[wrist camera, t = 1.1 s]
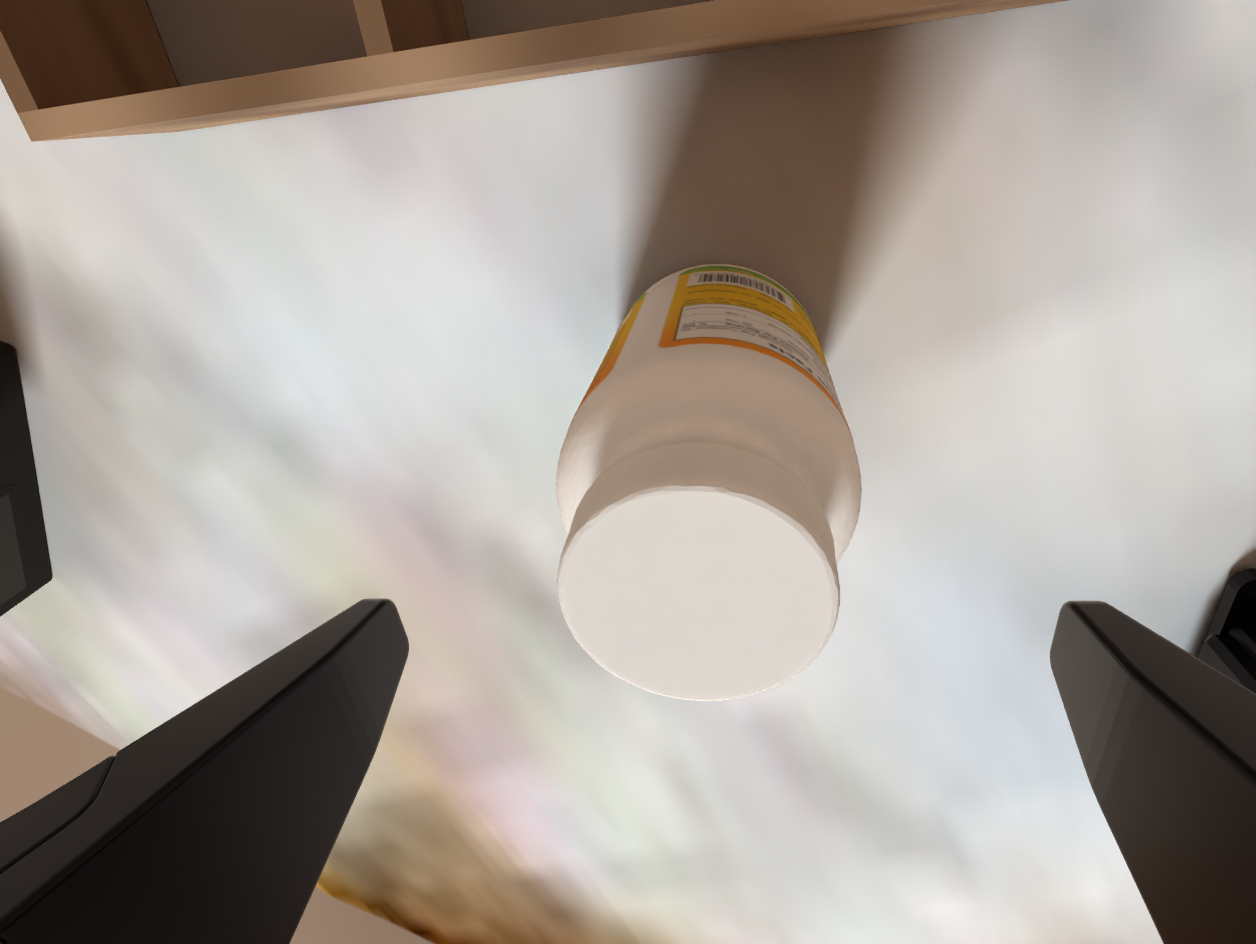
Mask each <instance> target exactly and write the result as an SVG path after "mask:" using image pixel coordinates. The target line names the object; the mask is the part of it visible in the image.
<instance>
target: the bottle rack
mask: <svg viewBox="0 0 1256 944" xmlns="http://www.w3.org/2000/svg"><path fill="white" fill-rule="evenodd" d="M1060 1H1067V0H713V1H707V2H701V3H695V4H689V5H683V6H676V7H670V8H664V9H658V10H652V11H645V12H639V13H633V14H627V15H621V16H615V17H608V18H602V19H596V20H590V21H584V22H577V23H571V24H565V25H559V26H553V27H547V28H540V29H534V30H528V31H522V32H516V33H509V34H503V35H497V36H491V37H485V38H479V39H472V40H469V39H468V34H467V29H466V24H465V19H464V14H463V8H462V3H461V0H353V4H354V8H355V12H356V16H357V19H358V23H359V27H360V31H361V35H362V38H363V42H364V46H365V50H366V54H367V57H361V58H355V59H349V60H343V61H336V62H330V63H324V64H318V65H312V66H305V67H299V68H293V69H287V70H281V71H275V72H268V73H262V74H256V75H250V76H244V77H237V78H231V79H225V80H219V81H213V82H207V83H200V84H194V85H188V86H182V87H179V86H178V83H177V81H176V78H175V76H174V73H173V70H172V68H171V65H170V63H169V60H168V57H167V55H166V52H165V50H164V47H163V45H162V42H161V39H160V37H159V34H158V32H157V29H156V26H155V24H154V21H153V19H152V16H151V13H150V11H149V8H148V6H147V3H146V0H0V79H1V81H2V83H3V85H4V87H5V89H6V91H7V93H8V95H9V97H10V99H11V101H12V103H13V105H14V107H15V109H16V111H17V113H18V115H19V117H20V119H21V121H22V123H23V125H24V127H25V129H26V131H27V133H28V135H29V137H30V139H31V141H46V140H61V139H76V138H91V137H105V136H120V135H135V134H150V133H165V132H179V131H185V130H192V129H199V128H206V127H212V126H219V125H226V124H233V123H240V122H246V121H253V120H260V119H267V118H274V117H280V116H287V115H294V114H301V113H307V112H314V111H321V110H328V109H335V108H341V107H348V106H355V105H362V104H368V103H375V102H382V101H389V100H396V99H402V98H409V97H416V96H423V95H429V94H436V93H443V92H450V91H457V90H463V89H470V88H477V87H484V86H490V85H497V84H504V83H511V82H518V81H524V80H531V79H538V78H545V77H551V76H558V75H565V74H572V73H579V72H585V71H592V70H599V69H606V68H612V67H619V66H626V65H633V64H640V63H646V62H653V61H660V60H667V59H674V58H680V57H687V56H694V55H701V54H707V53H714V52H721V51H728V50H735V49H741V48H748V47H755V46H762V45H768V44H775V43H782V42H789V41H796V40H802V39H809V38H816V37H823V36H829V35H836V34H843V33H850V32H857V31H863V30H870V29H877V28H884V27H890V26H897V25H904V24H911V23H918V22H924V21H931V20H938V19H945V18H951V17H958V16H965V15H972V14H979V13H985V12H992V11H999V10H1006V9H1012V8H1019V7H1026V6H1033V5H1040V4H1046V3H1053V2H1060Z"/></svg>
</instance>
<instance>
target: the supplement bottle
mask: <svg viewBox="0 0 1256 944" xmlns="http://www.w3.org/2000/svg"><path fill="white" fill-rule="evenodd" d="M556 487H557V501H558V506H559V510H560V515H561V518H562V521H563V524H564V527H565V530H566V532H567V535H568V537H567V540H566V543H565V546H564V549H563V552H562V555H561V559H560V564H559V569H558V578H557V585H558V595H559V601H560V606H561V609H562V613H563V616H564V618H565V620H566V623H567V625H568V627H569V628H570V630H571V632H572V634H573V635H574V637H575V639H576V640H577V642H578V643H579V644H580V645H581V647H582V648H583V649H584V650H585V651H586V652H587V653H588V654H589V655H590V656H591V657H592V658H593V659H594V660H595V661H596V662H597V663H598V664H599V665H600V666H602V667H603V668H605V669H606V670H607V671H609V672H610V673H612V674H613V675H615V676H616V677H618V678H620V679H622V680H624V681H626V682H628V683H630V684H632V685H634V686H636V687H638V688H641V689H644V690H646V691H649V692H652V693H655V694H659V695H662V696H666V697H671V698H676V699H685V700H694V701H721V700H732V699H738V698H743V697H748V696H752V695H755V694H758V693H760V692H763V691H766V690H769V689H772V688H774V687H776V686H778V685H781V684H783V683H784V682H786V681H787V680H789V679H790V678H792V677H793V676H795V675H797V674H798V673H800V672H801V671H802V670H803V669H805V668H806V667H807V666H808V665H809V664H810V663H811V662H812V661H813V660H814V659H815V658H816V657H817V656H818V655H819V653H820V652H821V651H822V649H823V648H824V646H825V645H826V643H827V641H828V639H829V637H830V636H831V634H832V632H833V630H834V627H835V624H836V621H837V617H838V611H839V606H840V585H839V578H838V571H837V565H836V563H837V562H838V561H839V559H840V558H841V556H842V555H843V553H844V551H845V550H846V548H847V546H848V544H849V542H850V540H851V538H852V535H853V533H854V530H855V527H856V524H857V521H858V516H859V512H860V503H861V491H862V489H861V474H860V468H859V463H858V458H857V454H856V451H855V446H854V442H853V438H852V435H851V432H850V429H849V427H848V424H847V421H846V419H845V417H844V414H843V411H842V408H841V406H840V403H839V400H838V397H837V394H836V391H835V388H834V385H833V382H832V379H831V376H830V373H829V370H828V367H827V364H826V361H825V358H824V355H823V352H822V348H821V345H820V342H819V339H818V337H817V334H816V331H815V329H814V326H813V324H812V322H811V320H810V318H809V316H808V314H807V312H806V311H805V309H804V308H803V306H802V305H801V304H800V302H799V301H798V300H797V299H796V298H795V297H794V296H793V295H792V294H791V293H790V292H789V291H788V290H787V289H786V288H785V287H783V286H782V285H781V284H779V283H778V282H777V281H775V280H773V279H772V278H770V277H768V276H766V275H764V274H762V273H760V272H758V271H755V270H752V269H749V268H746V267H742V266H738V265H731V264H704V265H698V266H693V267H689V268H686V269H683V270H680V271H677V272H675V273H673V274H670V275H668V276H666V277H665V278H663V279H661V280H660V281H658V282H657V283H655V284H654V285H652V286H651V287H650V288H649V289H648V290H647V291H645V292H644V293H643V294H642V295H641V296H640V297H639V299H638V300H637V301H636V302H635V303H634V305H633V306H632V307H631V309H630V310H629V312H628V313H627V315H626V316H625V318H624V320H623V321H622V323H621V325H620V327H619V329H618V331H617V333H616V335H615V337H614V339H613V341H612V343H611V345H610V347H609V349H608V351H607V354H606V356H605V357H604V360H603V361H602V363H601V365H600V367H599V369H598V371H597V373H596V375H595V377H594V379H593V381H592V383H591V385H590V387H589V389H588V391H587V393H586V394H585V396H584V398H583V400H582V402H581V404H580V406H579V408H578V410H577V412H576V413H575V415H574V417H573V420H572V422H571V424H570V427H569V429H568V432H567V435H566V438H565V440H564V443H563V446H562V449H561V452H560V457H559V462H558V468H557V482H556Z"/></svg>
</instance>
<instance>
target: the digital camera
mask: <svg viewBox="0 0 1256 944" xmlns="http://www.w3.org/2000/svg"><path fill="white" fill-rule="evenodd" d="M51 579H52V577H51V570H50V562H49V555H48V549H47V543H46V536H45V530H44V524H43V517H42V511H41V505H40V498H39V492H38V485H37V479H36V473H35V466H34V460H33V454H32V447H31V441H30V435H29V429H28V423H27V418H26V412H25V406H24V400H23V394H22V389H21V383H20V377H19V371H18V365H17V359H16V354H15V349H14V348H13V347H12V346H11V345H9V344H7V343H4V342H2V341H0V616H2V615H3V614H5V613H6V612H7V611H9V610H10V609H11V608H13V607H14V606H16V605H17V604H18V603H20V602H21V601H23V600H24V599H25V598H27V597H28V596H30V595H31V594H32V593H34V592H35V591H37V590H38V589H39V588H41V587H42V586H44V585H45V584H46V583H48V582H49V581H51Z"/></svg>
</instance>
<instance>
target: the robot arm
mask: <svg viewBox="0 0 1256 944" xmlns="http://www.w3.org/2000/svg"><path fill="white" fill-rule="evenodd" d="M1254 586H1256V569H1248V570H1244V571H1241V572H1239V573H1237V574H1236V575H1234V576H1233V577H1232V578H1231V579H1230V580H1229V582H1228V583H1227V586H1226V588H1225V591H1224V593H1223V596H1222V598H1221V601H1220V603H1219V606H1218V608H1217V611H1216V613H1215V616H1214V618H1213V621H1212V623H1211V626H1210V628H1209V631H1208V633H1207V636H1206V638H1205V641H1204V643H1203V645H1202V648H1201V650H1200V653H1199V655H1198V658H1196V657H1194V656H1193V655H1191V654H1190V653H1188V652H1186V651H1185V650H1183V649H1181V648H1180V647H1178V646H1176V645H1175V644H1173V643H1172V642H1170V641H1168V640H1167V639H1165V638H1163V637H1162V636H1160V635H1158V634H1157V633H1155V632H1153V631H1152V630H1150V629H1149V628H1147V627H1145V626H1144V625H1142V624H1140V623H1139V622H1137V621H1135V620H1134V619H1132V618H1131V617H1129V616H1127V615H1126V614H1124V613H1122V612H1121V611H1119V610H1117V609H1116V608H1114V607H1113V606H1111V605H1109V604H1107V603H1105V602H1102V601H1069V602H1066V603H1065V604H1064V605H1063V606H1062V608H1061V610H1060V613H1059V617H1058V621H1057V625H1056V629H1055V633H1054V637H1053V641H1052V645H1051V650H1050V663H1051V668H1052V671H1053V675H1054V678H1055V681H1056V684H1057V687H1058V690H1059V693H1060V696H1061V699H1062V702H1063V705H1064V708H1065V711H1066V714H1067V717H1068V720H1069V723H1070V726H1071V729H1072V732H1073V735H1074V738H1075V741H1076V744H1077V747H1078V750H1079V753H1080V756H1081V759H1082V762H1083V765H1084V768H1085V770H1086V773H1087V776H1088V779H1089V781H1090V784H1091V787H1092V789H1093V791H1094V794H1095V796H1096V798H1097V801H1098V803H1099V805H1100V808H1101V810H1102V812H1103V814H1104V816H1105V818H1106V821H1107V823H1108V825H1109V827H1110V829H1111V831H1112V833H1113V836H1114V838H1115V840H1116V842H1117V844H1118V846H1119V849H1120V851H1121V853H1122V855H1123V857H1124V859H1125V861H1126V864H1127V866H1128V868H1129V870H1130V872H1131V874H1132V877H1133V879H1134V881H1135V883H1136V885H1137V887H1138V889H1139V892H1140V894H1141V896H1142V898H1143V900H1144V902H1145V905H1146V907H1147V909H1148V911H1149V913H1150V915H1151V918H1152V920H1153V922H1154V924H1155V926H1156V928H1157V930H1158V933H1159V935H1160V937H1161V939H1162V941H1163V943H1164V944H1256V587H1255V588H1253V589H1251V588H1252V587H1254ZM1250 589H1251V590H1250ZM408 652H409V642H408V638H407V635H406V632H405V630H404V627H403V624H402V622H401V619H400V616H399V613H398V611H397V608H396V606H395V604H394V603H393V602H392V601H391V600H389V599H364V600H361V601H359V602H358V603H356V604H354V605H353V606H351V607H350V608H348V609H346V610H345V611H343V612H342V613H340V614H338V615H337V616H335V617H334V618H332V619H330V620H329V621H327V622H326V623H324V624H322V625H321V626H319V627H318V628H316V629H314V630H313V631H311V632H309V633H308V634H306V635H305V636H303V637H301V638H300V639H298V640H297V641H295V642H293V643H292V644H290V645H289V646H287V647H285V648H284V649H282V650H281V651H279V652H277V653H276V654H274V655H273V656H271V657H269V658H268V659H266V660H265V661H263V662H261V663H260V664H258V665H256V666H255V667H253V668H252V669H250V670H248V671H247V672H245V673H244V674H242V675H240V676H239V677H237V678H236V679H234V680H232V681H231V682H229V683H228V684H226V685H224V686H223V687H221V688H220V689H218V690H216V691H215V692H213V693H212V694H210V695H208V696H207V697H205V698H203V699H202V700H200V701H199V702H197V703H195V704H194V705H192V706H191V707H189V708H187V709H186V710H184V711H183V712H181V713H179V714H178V715H176V716H175V717H173V718H171V719H170V720H168V721H167V722H165V723H163V724H162V725H160V726H158V727H157V728H155V729H154V730H152V731H150V732H149V733H147V734H146V735H144V736H142V737H141V738H139V739H138V740H136V741H134V742H133V743H131V744H130V745H128V746H126V747H125V748H123V749H122V750H120V751H119V752H118V753H117V754H116V756H110V757H108V758H107V759H105V760H104V761H102V762H101V763H99V764H97V765H96V766H94V767H92V768H91V769H89V770H88V771H86V772H84V773H83V774H81V775H80V776H78V777H77V778H75V779H73V780H72V781H70V782H68V783H66V784H65V785H63V786H62V787H60V788H58V789H57V790H55V791H53V792H52V793H50V794H48V795H47V796H45V797H43V798H42V799H40V800H39V801H37V802H35V803H33V804H32V805H30V806H28V807H27V808H25V809H23V810H21V811H20V812H18V813H16V814H15V815H13V816H11V817H9V818H8V819H6V820H4V821H2V822H0V944H290V942H291V939H292V937H293V935H294V933H295V930H296V928H297V926H298V924H299V922H300V919H301V917H302V915H303V913H304V910H305V908H306V906H307V904H308V902H309V899H310V897H311V895H312V893H313V890H314V888H315V886H316V884H317V882H318V879H319V877H320V875H321V873H322V870H323V868H324V866H325V864H326V862H327V859H328V857H329V855H330V853H331V850H332V848H333V846H334V844H335V842H336V839H337V837H338V835H339V833H340V830H341V828H342V826H343V824H344V822H345V819H346V817H347V815H348V813H349V810H350V808H351V806H352V804H353V801H354V799H355V797H356V795H357V793H358V790H359V788H360V786H361V784H362V781H363V779H364V777H365V775H366V773H367V770H368V768H369V766H370V763H371V761H372V759H373V756H374V754H375V752H376V749H377V746H378V743H379V741H380V738H381V735H382V732H383V729H384V726H385V723H386V720H387V717H388V714H389V711H390V708H391V705H392V702H393V699H394V696H395V693H396V690H397V687H398V684H399V681H400V678H401V675H402V672H403V669H404V666H405V663H406V660H407V657H408Z"/></svg>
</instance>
